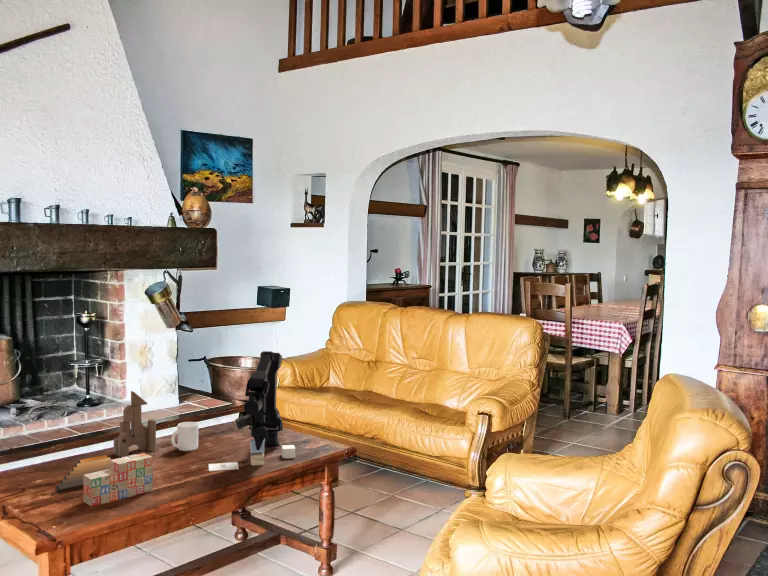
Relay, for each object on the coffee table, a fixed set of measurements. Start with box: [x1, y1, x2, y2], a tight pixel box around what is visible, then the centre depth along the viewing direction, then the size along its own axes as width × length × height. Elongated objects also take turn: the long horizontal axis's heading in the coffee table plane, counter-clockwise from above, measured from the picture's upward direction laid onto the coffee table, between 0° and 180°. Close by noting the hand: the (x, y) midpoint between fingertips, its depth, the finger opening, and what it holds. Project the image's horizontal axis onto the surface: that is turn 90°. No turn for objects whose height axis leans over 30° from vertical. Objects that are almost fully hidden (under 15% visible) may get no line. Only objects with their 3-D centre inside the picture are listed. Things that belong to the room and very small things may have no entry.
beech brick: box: [249, 451, 265, 466], centre depth 268 cm, size 5×5×4 cm
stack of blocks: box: [82, 452, 154, 507], centre depth 231 cm, size 21×6×12 cm, turn 136°
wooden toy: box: [113, 390, 157, 458], centre depth 278 cm, size 16×7×25 cm, turn 133°
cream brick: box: [281, 444, 296, 459], centre depth 277 cm, size 5×5×4 cm
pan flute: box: [55, 454, 112, 494], centre depth 250 cm, size 25×3×25 cm
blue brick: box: [249, 438, 265, 454], centre depth 268 cm, size 5×5×4 cm
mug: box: [170, 421, 199, 452], centre depth 284 cm, size 12×8×10 cm
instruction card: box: [208, 461, 240, 472], centre depth 263 cm, size 8×11×1 cm
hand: (257, 448), depth 268 cm, fingers closed on blue brick, 5 cm apart
